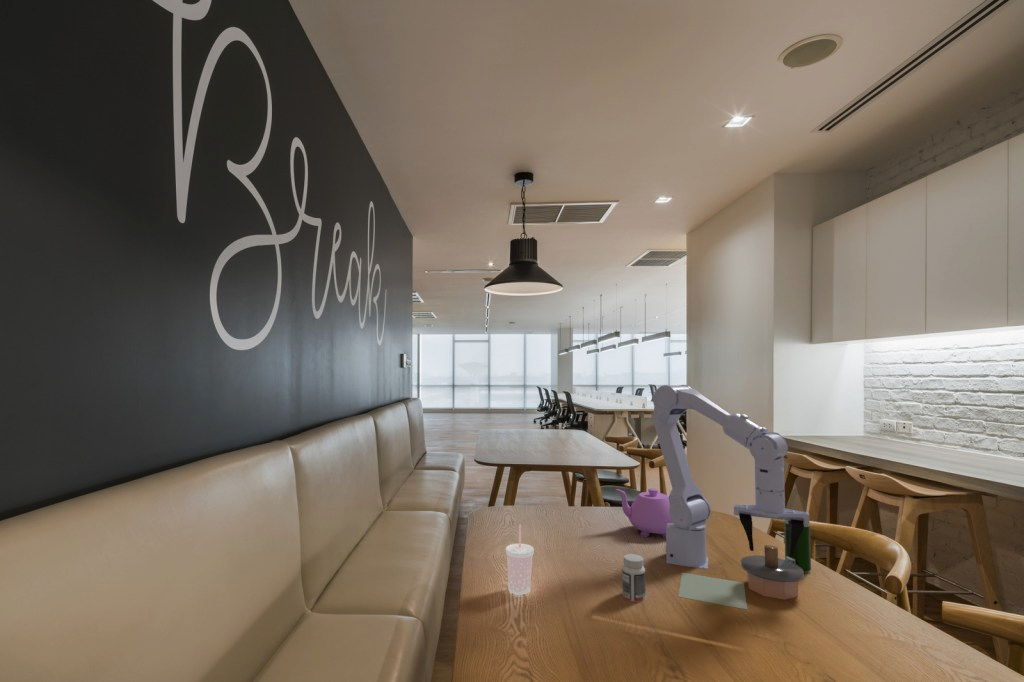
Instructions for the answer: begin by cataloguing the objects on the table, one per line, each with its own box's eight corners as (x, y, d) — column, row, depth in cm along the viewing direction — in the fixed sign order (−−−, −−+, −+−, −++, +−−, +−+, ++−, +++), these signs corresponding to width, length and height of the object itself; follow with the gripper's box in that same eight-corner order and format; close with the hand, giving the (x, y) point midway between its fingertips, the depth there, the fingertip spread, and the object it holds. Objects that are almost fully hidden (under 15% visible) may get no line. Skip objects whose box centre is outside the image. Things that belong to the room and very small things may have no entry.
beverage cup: (512, 582, 106) (513, 518, 107) (538, 588, 103) (538, 522, 104) (500, 594, 101) (500, 526, 102) (526, 600, 98) (527, 531, 99)
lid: (740, 574, 101) (740, 551, 101) (741, 555, 112) (741, 534, 112) (806, 586, 96) (805, 562, 96) (801, 565, 106) (800, 543, 107)
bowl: (749, 595, 101) (749, 574, 101) (746, 578, 110) (746, 558, 110) (800, 604, 97) (799, 582, 98) (793, 585, 106) (792, 565, 106)
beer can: (804, 576, 111) (803, 524, 112) (780, 568, 115) (779, 518, 116) (815, 571, 114) (814, 520, 115) (792, 563, 118) (790, 514, 119)
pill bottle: (646, 595, 101) (646, 554, 101) (644, 605, 96) (644, 563, 97) (623, 591, 102) (623, 551, 103) (621, 601, 98) (620, 560, 99)
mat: (678, 598, 99) (678, 596, 99) (682, 574, 111) (682, 572, 111) (747, 612, 94) (747, 609, 94) (743, 585, 106) (743, 582, 106)
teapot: (618, 538, 135) (618, 493, 136) (613, 522, 149) (613, 482, 150) (691, 542, 132) (691, 496, 133) (679, 525, 146) (679, 484, 147)
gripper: (734, 489, 104) (735, 553, 103) (811, 497, 98) (813, 564, 98) (733, 482, 111) (734, 542, 110) (805, 489, 105) (807, 552, 104)
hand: (771, 552), depth 104 cm, fingers open, 7 cm apart
